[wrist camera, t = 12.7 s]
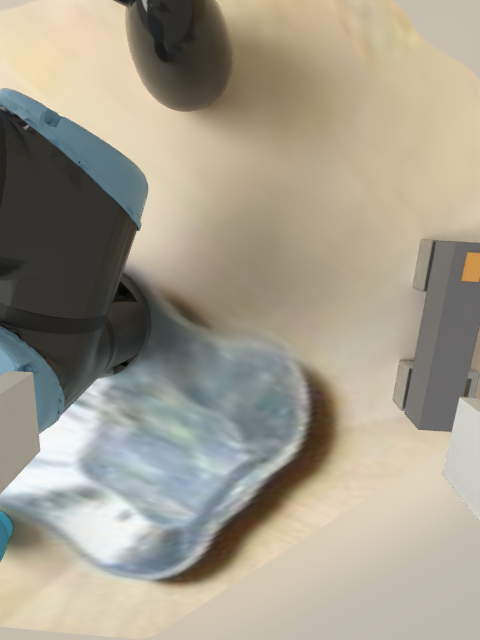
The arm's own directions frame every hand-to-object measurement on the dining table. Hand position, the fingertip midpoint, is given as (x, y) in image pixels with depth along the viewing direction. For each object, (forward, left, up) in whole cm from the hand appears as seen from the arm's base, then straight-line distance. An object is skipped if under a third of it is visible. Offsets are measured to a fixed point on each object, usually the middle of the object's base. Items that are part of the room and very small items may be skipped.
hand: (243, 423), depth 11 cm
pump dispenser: (-8, +23, -37) cm, 44 cm away
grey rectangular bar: (+24, -5, -37) cm, 44 cm away
